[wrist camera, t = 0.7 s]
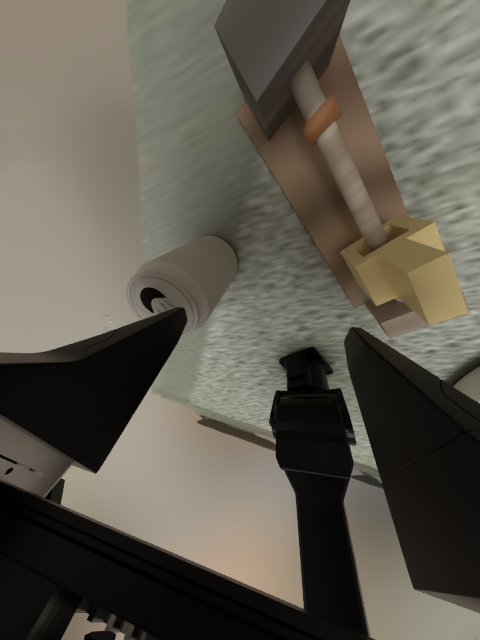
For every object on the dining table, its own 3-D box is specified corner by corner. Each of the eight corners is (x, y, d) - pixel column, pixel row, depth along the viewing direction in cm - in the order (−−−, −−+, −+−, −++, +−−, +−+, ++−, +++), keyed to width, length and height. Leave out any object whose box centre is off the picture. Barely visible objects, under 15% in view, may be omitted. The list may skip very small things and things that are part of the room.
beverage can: (210, 221, 19) (137, 244, 10) (249, 263, 21) (219, 316, 12) (183, 260, 23) (109, 304, 13) (218, 293, 25) (175, 352, 15)
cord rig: (425, 271, 18) (503, 313, 11) (353, 305, 21) (381, 350, 15) (318, -1, 11) (367, -297, 4) (238, 118, 14) (200, 55, 8)
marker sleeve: (413, 256, 15) (508, 299, 8) (358, 284, 17) (400, 334, 11) (396, 215, 14) (494, 231, 7) (339, 251, 16) (375, 287, 9)
